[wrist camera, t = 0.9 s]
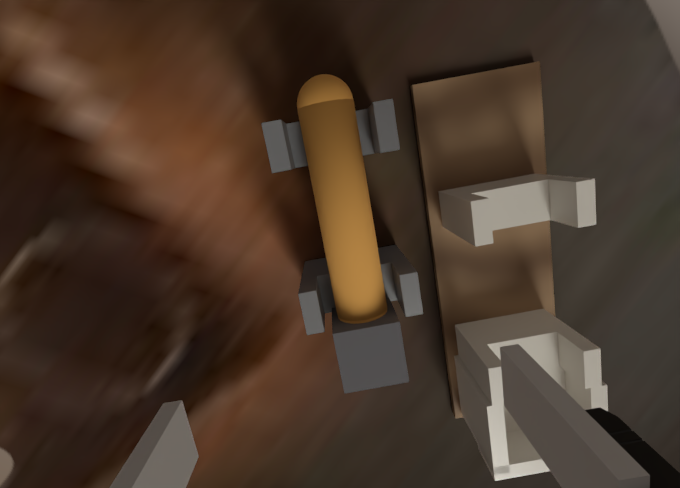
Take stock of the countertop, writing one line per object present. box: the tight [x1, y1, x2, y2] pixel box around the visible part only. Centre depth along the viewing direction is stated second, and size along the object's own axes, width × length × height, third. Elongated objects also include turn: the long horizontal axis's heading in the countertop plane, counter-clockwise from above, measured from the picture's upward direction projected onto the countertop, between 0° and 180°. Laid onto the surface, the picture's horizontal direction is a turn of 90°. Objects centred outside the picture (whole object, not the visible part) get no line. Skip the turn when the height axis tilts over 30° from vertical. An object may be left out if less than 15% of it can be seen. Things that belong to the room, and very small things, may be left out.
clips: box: [438, 174, 608, 481], centre depth 31 cm, size 22×9×7 cm, turn 10°
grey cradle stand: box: [261, 99, 423, 335], centre depth 29 cm, size 14×8×8 cm, turn 10°
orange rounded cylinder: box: [297, 74, 409, 393], centre depth 26 cm, size 20×4×4 cm, turn 10°
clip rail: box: [410, 61, 555, 418], centre depth 34 cm, size 30×10×1 cm, turn 10°
